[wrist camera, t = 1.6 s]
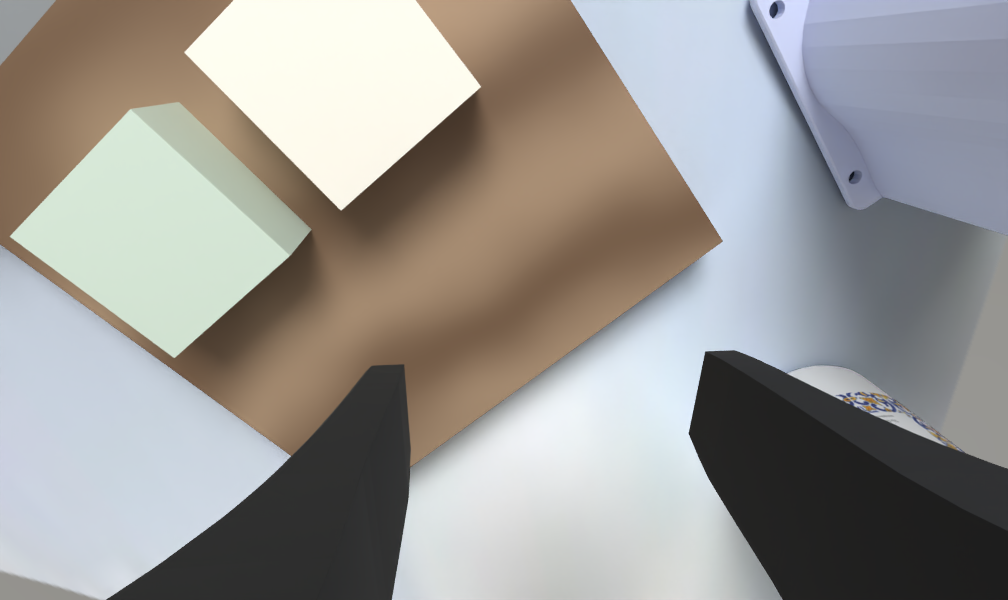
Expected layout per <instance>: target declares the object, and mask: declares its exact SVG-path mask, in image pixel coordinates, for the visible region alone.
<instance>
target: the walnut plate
mask: <svg viewBox="0 0 1008 600" xmlns="http://www.w3.org/2000/svg"><path fill="white" fill-rule="evenodd" d="M232 1H233V0H56V1H55V2H54V3H53V4H52V6H51V7H50V8H49V9H48V10H47V11H46V13H45V14H44V15H43V16H42V17H41V18H40V20H39V21H38V22H37V23H36V24H35V25H34V27H33V28H32V29H31V30H30V31H29V32H28V34H27V35H26V36H25V37H24V38H23V39H22V41H21V42H20V43H19V44H18V45H17V47H16V48H15V49H14V50H13V51H12V52H11V54H10V55H9V56H8V57H7V58H6V59H5V61H4V62H3V63H2V64H1V65H0V245H2V246H3V247H5V248H6V249H7V250H9V251H10V252H11V253H13V254H14V255H16V256H17V257H18V258H20V259H21V260H22V261H24V262H25V263H27V264H28V265H29V266H31V267H32V268H33V269H35V270H36V271H38V272H39V273H40V274H42V275H43V276H44V277H46V278H47V279H49V280H50V281H51V282H53V283H54V284H55V285H57V286H58V287H60V288H61V289H62V290H64V291H65V292H66V293H68V294H69V295H71V296H72V297H73V298H75V299H76V300H77V301H79V302H80V303H82V304H83V305H84V306H86V307H87V308H88V309H90V310H91V311H93V312H94V313H95V314H97V315H98V316H100V317H101V318H102V319H104V320H105V321H106V322H108V323H109V324H111V325H112V326H113V327H115V328H116V329H117V330H119V331H120V332H122V333H123V334H124V335H126V336H127V337H128V338H130V339H131V340H133V341H134V342H135V343H137V344H138V345H139V346H141V347H142V348H144V349H145V350H146V351H148V352H149V353H150V354H152V355H153V356H155V357H156V358H157V359H159V360H160V361H161V362H163V363H164V364H166V365H167V366H168V367H170V368H171V369H172V370H174V371H175V372H177V373H178V374H179V375H181V376H182V377H183V378H185V379H186V380H188V381H189V382H190V383H192V384H193V385H194V386H196V387H197V388H199V389H200V390H201V391H203V392H204V393H205V394H207V395H208V396H210V397H211V398H212V399H214V400H215V401H216V402H218V403H219V404H221V405H222V406H223V407H225V408H226V409H227V410H229V411H230V412H232V413H233V414H234V415H236V416H237V417H238V418H240V419H241V420H243V421H244V422H245V423H247V424H248V425H249V426H251V427H252V428H254V429H255V430H256V431H258V432H259V433H260V434H262V435H263V436H265V437H266V438H267V439H269V440H270V441H271V442H273V443H274V444H276V445H277V446H278V447H280V448H281V449H282V450H284V451H285V452H287V453H288V454H289V455H291V456H292V455H293V454H294V453H295V452H296V451H297V450H298V449H299V448H300V447H301V446H302V445H303V444H304V443H305V442H306V441H307V440H308V439H309V438H310V437H311V436H312V435H313V433H314V432H315V431H316V430H317V429H318V428H319V427H320V426H321V425H322V423H323V422H324V421H325V420H326V419H327V418H328V417H329V415H330V414H331V413H332V412H333V411H334V410H335V409H336V408H337V406H338V405H339V404H340V403H341V402H342V400H343V399H344V398H345V397H346V396H347V394H348V393H349V392H350V391H351V389H352V388H353V387H354V386H355V384H356V383H357V382H358V381H359V379H360V378H361V377H362V376H363V374H364V373H365V372H366V371H367V370H368V369H369V368H370V367H371V366H374V365H398V364H404V368H405V381H406V393H407V406H408V419H409V432H410V445H411V458H410V467H411V466H413V465H414V464H416V463H417V462H418V461H420V460H421V459H422V458H424V457H425V456H427V455H428V454H429V453H431V452H432V451H434V450H435V449H436V448H438V447H439V446H440V445H442V444H443V443H445V442H446V441H447V440H449V439H450V438H451V437H453V436H454V435H456V434H457V433H458V432H460V431H461V430H463V429H464V428H465V427H467V426H468V425H469V424H471V423H472V422H474V421H475V420H476V419H478V418H479V417H481V416H482V415H483V414H485V413H486V412H487V411H489V410H490V409H492V408H493V407H494V406H496V405H497V404H499V403H500V402H501V401H503V400H504V399H505V398H507V397H508V396H510V395H511V394H512V393H514V392H515V391H517V390H518V389H519V388H521V387H522V386H523V385H525V384H526V383H528V382H529V381H530V380H532V379H533V378H534V377H536V376H537V375H539V374H540V373H541V372H543V371H544V370H546V369H547V368H548V367H550V366H551V365H552V364H554V363H555V362H557V361H558V360H559V359H561V358H562V357H564V356H565V355H566V354H568V353H569V352H570V351H572V350H573V349H575V348H576V347H577V346H579V345H580V344H582V343H583V342H584V341H586V340H587V339H588V338H590V337H591V336H593V335H594V334H595V333H597V332H598V331H600V330H601V329H602V328H604V327H605V326H606V325H608V324H609V323H611V322H612V321H613V320H615V319H616V318H618V317H619V316H620V315H622V314H623V313H624V312H626V311H627V310H629V309H630V308H631V307H633V306H634V305H635V304H637V303H638V302H640V301H641V300H642V299H644V298H645V297H647V296H648V295H649V294H651V293H652V292H653V291H655V290H656V289H658V288H659V287H660V286H662V285H663V284H665V283H666V282H667V281H669V280H670V279H671V278H673V277H674V276H676V275H677V274H678V273H680V272H681V271H683V270H684V269H685V268H687V267H688V266H689V265H691V264H692V263H694V262H695V261H696V260H698V259H699V258H701V257H702V256H703V255H705V254H706V253H707V252H709V251H710V250H712V249H713V248H714V247H716V246H717V245H719V244H720V243H721V242H723V241H722V239H721V238H720V236H719V234H718V233H717V231H716V230H715V228H714V226H713V225H712V223H711V222H710V220H709V219H708V217H707V215H706V214H705V212H704V211H703V209H702V207H701V206H700V204H699V203H698V201H697V200H696V198H695V196H694V195H693V193H692V192H691V190H690V188H689V187H688V185H687V184H686V182H685V181H684V179H683V177H682V176H681V174H680V173H679V171H678V169H677V168H676V166H675V165H674V163H673V162H672V160H671V158H670V157H669V155H668V154H667V152H666V150H665V149H664V147H663V146H662V144H661V143H660V141H659V139H658V138H657V136H656V135H655V133H654V132H653V130H652V128H651V127H650V125H649V124H648V122H647V120H646V119H645V117H644V116H643V114H642V113H641V111H640V109H639V108H638V106H637V105H636V103H635V101H634V100H633V98H632V97H631V95H630V94H629V92H628V90H627V89H626V87H625V86H624V84H623V82H622V81H621V79H620V78H619V76H618V75H617V73H616V71H615V70H614V68H613V67H612V65H611V63H610V62H609V60H608V59H607V57H606V56H605V54H604V52H603V51H602V49H601V48H600V46H599V44H598V43H597V41H596V40H595V38H594V37H593V35H592V33H591V32H590V30H589V29H588V27H587V25H586V24H585V22H584V21H583V19H582V18H581V16H580V14H579V13H578V11H577V10H576V8H575V7H574V5H573V3H572V2H571V0H416V2H417V3H418V4H419V5H420V7H421V8H422V9H423V11H424V12H425V13H426V15H427V16H428V17H429V19H430V20H431V21H432V23H433V24H434V25H435V27H436V28H437V29H438V30H439V32H440V33H441V34H442V36H443V37H444V38H445V40H446V41H447V42H448V44H449V45H450V46H451V48H452V49H453V50H454V52H455V53H456V54H457V56H458V57H459V58H460V59H461V61H462V62H463V63H464V65H465V66H466V67H467V69H468V70H469V71H470V73H471V74H472V75H473V77H474V78H475V79H476V81H477V82H478V83H479V84H480V86H481V87H480V88H479V89H478V90H477V91H476V92H475V93H474V94H472V95H471V96H470V97H469V98H468V99H467V100H466V101H464V102H463V103H462V104H461V105H460V106H459V107H458V108H457V109H455V110H454V111H453V112H452V113H451V114H450V115H449V116H448V117H446V118H445V119H444V120H443V121H442V122H441V123H440V124H438V125H437V126H436V127H435V128H434V129H433V130H432V131H431V132H429V133H428V134H427V135H426V136H425V137H424V138H423V139H422V140H420V141H419V142H418V143H417V144H416V145H415V146H414V147H412V148H411V149H410V150H409V151H408V152H407V153H406V154H405V155H403V156H402V157H401V158H400V159H399V160H398V161H397V162H396V163H394V164H393V165H392V166H391V167H390V168H389V169H388V170H386V171H385V172H384V173H383V174H382V175H381V176H380V177H379V178H377V179H376V180H375V181H374V182H373V183H372V184H371V185H370V186H368V187H367V188H366V189H365V190H364V191H363V192H362V193H360V194H359V195H358V196H357V197H356V198H355V199H354V200H353V201H351V202H350V203H349V204H348V205H347V206H346V207H345V208H344V209H342V210H340V209H339V208H338V207H337V206H336V205H335V204H334V203H333V202H332V201H331V200H330V199H329V198H328V197H327V196H326V195H325V194H324V193H323V192H322V191H321V190H320V189H319V188H318V187H317V186H316V185H315V184H314V183H313V182H312V181H311V180H310V179H309V178H308V177H307V176H306V175H305V174H304V173H303V172H302V171H301V170H300V169H299V168H298V167H297V166H296V165H295V164H294V163H293V162H292V161H291V160H290V159H289V158H288V157H287V156H286V155H285V154H284V153H283V152H282V151H281V150H280V149H279V148H278V147H277V146H276V145H275V144H274V143H273V142H272V141H271V140H270V139H269V138H268V137H267V136H266V135H265V134H264V133H263V131H262V130H261V129H260V128H259V127H258V126H257V125H256V124H255V123H254V122H253V121H252V120H251V119H250V118H249V117H248V116H247V115H246V114H245V113H244V112H243V111H242V110H241V109H240V108H239V107H238V106H237V105H236V104H235V103H234V102H233V101H232V100H231V99H230V98H229V97H228V96H227V95H226V94H225V93H224V92H223V91H222V90H221V89H220V88H219V87H218V86H217V85H216V84H215V83H214V82H213V81H212V80H211V79H210V78H209V77H208V76H207V75H206V74H205V73H204V72H203V71H202V70H201V69H200V68H199V67H198V66H197V65H196V64H195V63H194V62H193V61H192V60H191V59H190V58H189V57H188V56H187V55H186V54H185V53H184V52H185V51H186V50H187V49H188V48H189V47H190V46H191V45H192V44H193V43H194V42H195V40H196V39H197V38H198V37H199V36H200V35H201V34H202V33H203V32H204V31H205V30H206V29H207V28H208V27H209V26H210V25H211V24H212V23H213V21H214V20H215V19H216V18H217V17H218V16H219V15H220V14H221V13H222V12H223V11H224V10H225V9H226V8H227V7H228V6H229V5H230V4H231V2H232ZM176 102H179V103H181V104H182V105H183V106H184V107H185V108H186V109H187V110H188V111H189V112H190V113H191V114H192V115H193V116H194V117H195V118H196V119H197V120H198V121H199V122H200V123H201V124H202V125H203V126H204V127H205V128H207V129H208V130H209V131H210V132H211V133H212V134H213V135H214V136H215V137H216V138H217V139H218V140H219V141H220V142H221V143H222V144H223V145H224V146H225V147H226V148H227V149H228V150H229V151H230V152H231V153H233V154H234V155H235V156H236V157H237V158H238V159H239V160H240V161H241V162H242V163H243V164H244V165H245V166H246V167H247V168H248V169H249V170H250V171H251V172H252V173H253V174H254V175H255V176H256V177H257V178H259V179H260V180H261V181H262V182H263V183H264V184H265V185H266V186H267V187H268V188H269V189H270V190H271V191H272V192H273V193H274V194H275V195H276V196H277V197H278V198H279V199H280V200H281V201H282V202H284V203H285V204H286V205H287V206H288V207H289V208H290V209H291V210H292V211H293V212H294V213H295V214H296V215H297V216H298V217H299V218H300V219H301V220H302V221H303V222H304V223H305V224H306V225H307V226H308V227H310V228H311V229H312V230H311V231H310V232H309V233H308V235H307V236H306V237H305V238H304V239H303V241H302V242H301V243H300V244H299V246H298V247H297V248H296V249H295V250H294V252H293V253H292V254H291V255H290V256H289V257H288V258H287V259H286V260H285V261H284V262H282V263H281V264H280V265H279V266H278V267H277V268H276V269H275V270H273V271H272V272H271V273H270V274H269V275H268V276H267V277H265V278H264V279H263V280H262V281H261V282H260V283H259V284H258V285H256V286H255V287H254V288H253V289H252V290H251V291H250V292H249V293H247V294H246V295H245V296H244V297H243V298H242V299H241V300H239V301H238V302H237V303H236V304H235V305H234V306H233V307H232V308H230V309H229V310H228V311H227V312H226V313H225V314H224V315H223V316H221V317H220V318H219V319H218V320H217V321H216V322H215V323H213V324H212V325H211V326H210V327H209V328H208V329H207V330H206V331H204V332H203V333H202V334H201V335H200V336H199V337H198V338H197V339H195V340H194V341H193V342H192V343H191V344H190V345H189V346H187V347H186V348H185V349H184V350H183V351H182V352H181V353H180V354H178V355H177V356H176V357H175V358H174V357H172V356H171V355H169V354H168V353H167V352H165V351H164V350H163V349H161V348H160V347H159V346H157V345H156V344H155V343H153V342H152V341H150V340H149V339H148V338H146V337H145V336H144V335H142V334H141V333H140V332H138V331H137V330H136V329H134V328H133V327H132V326H130V325H129V324H127V323H126V322H125V321H123V320H122V319H121V318H119V317H118V316H117V315H115V314H114V313H113V312H111V311H110V310H108V309H107V308H106V307H104V306H103V305H102V304H100V303H99V302H98V301H96V300H95V299H94V298H92V297H91V296H89V295H88V294H87V293H85V292H84V291H83V290H81V289H80V288H79V287H77V286H76V285H75V284H73V283H72V282H71V281H69V280H68V279H66V278H65V277H64V276H62V275H61V274H60V273H58V272H57V271H56V270H54V269H53V268H52V267H50V266H49V265H47V264H46V263H45V262H43V261H42V260H41V259H39V258H38V257H37V256H35V255H34V254H33V253H31V252H30V251H29V250H27V249H26V248H24V247H23V246H22V245H20V244H19V243H18V242H16V241H15V240H14V239H12V238H11V237H10V236H11V235H12V234H13V232H14V231H15V230H16V229H17V228H18V227H19V226H20V225H21V224H22V223H23V222H24V221H25V220H26V219H27V218H28V217H29V216H30V215H31V213H32V212H33V211H34V210H35V209H36V208H37V207H38V206H39V205H40V204H41V203H42V202H43V201H44V200H45V199H46V198H47V197H48V196H49V194H50V193H51V192H52V191H53V190H54V189H55V188H56V187H57V186H58V185H59V184H60V183H61V182H62V181H63V180H64V179H65V178H66V177H67V175H68V174H69V173H70V172H71V171H72V170H73V169H74V168H75V167H76V166H77V165H78V164H79V163H80V162H81V161H82V160H83V159H84V158H85V157H86V155H87V154H88V153H89V152H90V151H91V150H92V149H93V148H94V147H95V146H96V145H97V144H98V143H99V142H100V141H101V140H102V139H103V138H104V136H105V135H106V134H107V133H108V132H109V131H110V130H111V129H112V128H113V127H114V126H115V125H116V124H117V123H118V122H119V121H120V120H121V119H122V117H123V116H124V115H125V114H126V113H127V112H128V111H129V110H130V109H135V108H141V107H148V106H155V105H162V104H169V103H176Z"/></svg>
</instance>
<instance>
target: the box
mask: <svg viewBox="0 0 1008 600" xmlns="http://www.w3.org/2000/svg"><path fill="white" fill-rule="evenodd" d="M55 1H56V0H0V65H1V64H2V63H3V62H4V61H5V59H6V58H7V57H8V56H9V55H10V54H11V52H12V51H13V50H14V49H15V48H16V47H17V45H18V44H19V43H20V42H21V41H22V39H23V38H24V37H25V36H26V35H27V34H28V32H29V31H30V30H31V29H32V28H33V27H34V25H35V24H36V23H37V22H38V21H39V20H40V18H41V17H42V16H43V15H44V14H45V13H46V11H47V10H48V9H49V8H50V7H51V6H52V4H53V3H54V2H55Z"/></svg>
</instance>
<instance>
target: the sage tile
mask: <svg viewBox="0 0 1008 600" xmlns="http://www.w3.org/2000/svg"><path fill="white" fill-rule="evenodd" d="M311 230H312V229H311V228H310V227H308V226H307V225H306V224H305V223H304V222H303V221H302V220H301V219H300V218H299V217H298V216H297V215H296V214H295V213H294V212H293V211H292V210H291V209H290V208H289V207H288V206H287V205H286V204H285V203H284V202H282V201H281V200H280V199H279V198H278V197H277V196H276V195H275V194H274V193H273V192H272V191H271V190H270V189H269V188H268V187H267V186H266V185H265V184H264V183H263V182H262V181H261V180H260V179H259V178H257V177H256V176H255V175H254V174H253V173H252V172H251V171H250V170H249V169H248V168H247V167H246V166H245V165H244V164H243V163H242V162H241V161H240V160H239V159H238V158H237V157H236V156H235V155H234V154H233V153H231V152H230V151H229V150H228V149H227V148H226V147H225V146H224V145H223V144H222V143H221V142H220V141H219V140H218V139H217V138H216V137H215V136H214V135H213V134H212V133H211V132H210V131H209V130H208V129H207V128H205V127H204V126H203V125H202V124H201V123H200V122H199V121H198V120H197V119H196V118H195V117H194V116H193V115H192V114H191V113H190V112H189V111H188V110H187V109H186V108H185V107H184V106H183V105H182V104H181V103H179V102H176V103H169V104H162V105H155V106H148V107H141V108H135V109H130V110H129V111H128V112H127V113H126V114H125V115H124V116H123V117H122V119H121V120H120V121H119V122H118V123H117V124H116V125H115V126H114V127H113V128H112V129H111V130H110V131H109V132H108V133H107V134H106V135H105V136H104V138H103V139H102V140H101V141H100V142H99V143H98V144H97V145H96V146H95V147H94V148H93V149H92V150H91V151H90V152H89V153H88V154H87V155H86V157H85V158H84V159H83V160H82V161H81V162H80V163H79V164H78V165H77V166H76V167H75V168H74V169H73V170H72V171H71V172H70V173H69V174H68V175H67V177H66V178H65V179H64V180H63V181H62V182H61V183H60V184H59V185H58V186H57V187H56V188H55V189H54V190H53V191H52V192H51V193H50V194H49V196H48V197H47V198H46V199H45V200H44V201H43V202H42V203H41V204H40V205H39V206H38V207H37V208H36V209H35V210H34V211H33V212H32V213H31V215H30V216H29V217H28V218H27V219H26V220H25V221H24V222H23V223H22V224H21V225H20V226H19V227H18V228H17V229H16V230H15V231H14V232H13V234H12V235H11V236H10V237H11V238H12V239H14V240H15V241H16V242H18V243H19V244H20V245H22V246H23V247H24V248H26V249H27V250H29V251H30V252H31V253H33V254H34V255H35V256H37V257H38V258H39V259H41V260H42V261H43V262H45V263H46V264H47V265H49V266H50V267H52V268H53V269H54V270H56V271H57V272H58V273H60V274H61V275H62V276H64V277H65V278H66V279H68V280H69V281H71V282H72V283H73V284H75V285H76V286H77V287H79V288H80V289H81V290H83V291H84V292H85V293H87V294H88V295H89V296H91V297H92V298H94V299H95V300H96V301H98V302H99V303H100V304H102V305H103V306H104V307H106V308H107V309H108V310H110V311H111V312H113V313H114V314H115V315H117V316H118V317H119V318H121V319H122V320H123V321H125V322H126V323H127V324H129V325H130V326H132V327H133V328H134V329H136V330H137V331H138V332H140V333H141V334H142V335H144V336H145V337H146V338H148V339H149V340H150V341H152V342H153V343H155V344H156V345H157V346H159V347H160V348H161V349H163V350H164V351H165V352H167V353H168V354H169V355H171V356H172V357H174V358H175V357H176V356H177V355H178V354H180V353H181V352H182V351H183V350H184V349H185V348H186V347H187V346H189V345H190V344H191V343H192V342H193V341H194V340H195V339H197V338H198V337H199V336H200V335H201V334H202V333H203V332H204V331H206V330H207V329H208V328H209V327H210V326H211V325H212V324H213V323H215V322H216V321H217V320H218V319H219V318H220V317H221V316H223V315H224V314H225V313H226V312H227V311H228V310H229V309H230V308H232V307H233V306H234V305H235V304H236V303H237V302H238V301H239V300H241V299H242V298H243V297H244V296H245V295H246V294H247V293H249V292H250V291H251V290H252V289H253V288H254V287H255V286H256V285H258V284H259V283H260V282H261V281H262V280H263V279H264V278H265V277H267V276H268V275H269V274H270V273H271V272H272V271H273V270H275V269H276V268H277V267H278V266H279V265H280V264H281V263H282V262H284V261H285V260H286V259H287V258H288V257H289V256H290V255H291V254H292V253H293V252H294V250H295V249H296V248H297V247H298V246H299V244H300V243H301V242H302V241H303V239H304V238H305V237H306V236H307V235H308V233H309V232H310V231H311Z"/></svg>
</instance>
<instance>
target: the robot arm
mask: <svg viewBox="0 0 1008 600" xmlns="http://www.w3.org/2000/svg"><path fill="white" fill-rule="evenodd" d="M773 2H775V3H776V4H777V5H778V12H777V15H776V16H775V17H774V18H772V17H771V16H770V13H769V10H770V6H771V5H772V4H773ZM750 5H751V8H752V10H753V12H754V14H755V16H756V19H757V21H758V23H759V25H760V27H761V29H762V31H763V33H764V35H765V37H766V39H767V41H768V43H769V45H770V47H771V49H772V51H773V53H774V56H775V58H776V60H777V62H778V64H779V66H780V68H781V70H782V72H783V74H784V76H785V78H786V80H787V82H788V84H789V86H790V88H791V90H792V92H793V95H794V97H795V99H796V101H797V103H798V105H799V107H800V109H801V111H802V113H803V115H804V117H805V119H806V121H807V123H808V125H809V127H810V129H811V132H812V134H813V136H814V138H815V140H816V142H817V144H818V146H819V148H820V150H821V152H822V154H823V156H824V158H825V160H826V162H827V164H828V166H829V169H830V171H831V173H832V175H833V177H834V179H835V181H836V183H837V185H838V187H839V189H840V191H841V193H842V195H843V197H844V199H845V201H846V203H847V205H848V206H849V207H852V208H854V209H857V210H863V209H865V208H867V207H869V206H871V205H872V204H874V203H875V202H876V201H878V200H879V199H881V198H882V197H885V198H888V199H891V200H895V201H898V202H901V203H904V204H907V205H911V206H914V207H917V208H920V209H924V210H927V211H930V212H933V213H936V214H940V215H943V216H946V217H949V218H953V219H956V220H959V221H962V222H966V223H969V224H972V225H975V226H978V227H982V228H985V229H988V230H991V231H995V232H998V233H1001V234H1004V235H1007V236H1008V0H750ZM853 171H854V172H855V175H854V177H853V179H852V180H851V181H849V179H848V178H849V176H850V174H851V173H852V172H853ZM689 435H690V438H691V440H692V443H693V445H694V447H695V450H696V452H697V454H698V457H699V459H700V461H701V463H702V465H703V468H704V470H705V472H706V474H707V476H708V478H709V480H710V482H711V483H712V485H713V487H714V488H715V490H716V492H717V493H718V495H719V497H720V498H721V500H722V501H723V503H724V505H725V506H726V508H727V510H728V511H729V513H730V515H731V516H732V518H733V519H734V521H735V523H736V524H737V526H738V527H739V529H740V531H741V532H742V534H743V535H744V537H745V538H746V540H747V542H748V543H749V545H750V546H751V548H752V550H753V551H754V553H755V554H756V556H757V558H758V559H759V561H760V562H761V564H762V566H763V567H764V569H765V570H766V572H767V574H768V575H769V577H770V578H771V580H772V582H773V583H774V585H775V587H776V589H777V590H778V592H779V594H780V596H781V597H782V599H783V600H1008V469H1007V468H1004V467H1001V466H998V465H995V464H992V463H989V462H987V461H984V460H981V459H979V458H976V457H974V456H971V455H968V454H966V453H963V452H961V451H958V450H955V449H953V448H950V447H947V446H945V445H942V444H940V443H937V442H935V441H932V440H930V439H927V438H925V437H922V436H920V435H918V434H915V433H913V432H911V431H908V430H906V429H904V428H901V427H899V426H897V425H895V424H892V423H890V422H888V421H886V420H883V419H881V418H879V417H877V416H874V415H872V414H870V413H868V412H866V411H863V410H861V409H859V408H857V407H855V406H853V405H851V404H848V403H846V402H844V401H842V400H840V399H838V398H836V397H834V396H832V395H830V394H828V393H826V392H824V391H822V390H819V389H817V388H815V387H813V386H811V385H809V384H807V383H805V382H803V381H801V380H799V379H797V378H795V377H793V376H791V375H789V374H787V373H785V372H783V371H781V370H779V369H777V368H775V367H772V366H770V365H768V364H766V363H764V362H762V361H760V360H757V359H755V358H753V357H750V356H748V355H746V354H743V353H740V352H737V351H735V350H732V351H708V352H705V356H704V361H703V366H702V371H701V376H700V381H699V386H698V390H697V395H696V400H695V405H694V410H693V415H692V420H691V425H690V430H689ZM410 458H411V445H410V432H409V419H408V406H407V393H406V381H405V368H404V364H398V365H374V366H371V367H370V368H369V369H368V370H367V371H366V372H365V373H364V374H363V376H362V377H361V378H360V379H359V381H358V382H357V383H356V384H355V386H354V387H353V388H352V389H351V391H350V392H349V393H348V394H347V396H346V397H345V398H344V399H343V400H342V402H341V403H340V404H339V405H338V406H337V408H336V409H335V410H334V411H333V412H332V413H331V414H330V415H329V417H328V418H327V419H326V420H325V421H324V422H323V423H322V425H321V426H320V427H319V428H318V429H317V430H316V431H315V432H314V433H313V435H312V436H311V437H310V438H309V439H308V440H307V441H306V442H305V443H304V444H303V445H302V446H301V447H300V448H299V449H298V450H297V451H296V452H295V453H294V454H293V455H292V456H291V457H290V458H289V459H288V460H287V461H286V462H285V463H284V464H283V465H282V466H281V467H280V468H279V469H278V470H277V471H276V472H275V473H274V474H273V475H272V476H271V477H270V478H268V479H267V480H266V481H265V482H264V483H263V484H262V485H261V486H260V487H259V488H257V489H256V490H255V491H254V492H253V493H252V494H250V495H249V496H248V497H247V498H246V499H245V500H243V501H242V502H241V503H240V504H239V505H237V506H236V507H235V508H234V509H233V510H231V511H230V512H229V513H228V514H226V515H225V516H224V517H223V518H221V519H220V520H219V521H217V522H216V523H215V524H213V525H212V526H211V527H209V528H208V529H207V530H205V531H204V532H202V533H201V534H200V535H198V536H197V537H196V538H194V539H193V540H192V541H190V542H189V543H188V544H186V545H185V546H184V547H182V548H181V549H179V550H178V551H177V552H175V553H174V554H173V555H171V556H170V557H169V558H167V559H166V560H165V561H163V562H162V563H160V564H159V565H158V566H156V567H155V568H153V569H152V570H150V571H149V572H147V573H146V574H144V575H143V576H141V577H140V578H138V579H137V580H135V581H134V582H132V583H131V584H129V585H128V586H126V587H125V588H123V589H122V590H120V591H119V592H117V593H116V594H114V595H113V596H111V597H110V598H108V599H106V600H392V595H393V589H394V583H395V577H396V571H397V565H398V559H399V553H400V547H401V541H402V535H403V529H404V523H405V517H406V510H407V504H408V497H409V479H410Z"/></svg>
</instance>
